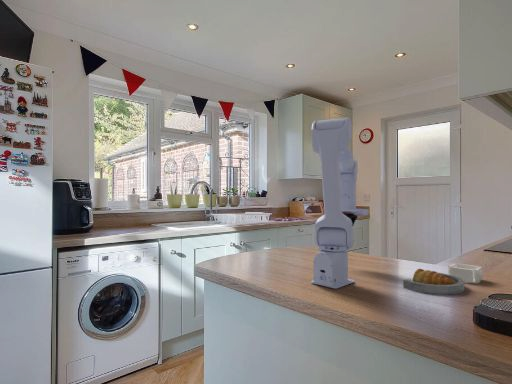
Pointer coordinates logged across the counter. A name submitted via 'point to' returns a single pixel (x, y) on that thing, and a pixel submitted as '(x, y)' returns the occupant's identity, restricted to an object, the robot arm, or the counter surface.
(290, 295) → the counter surface
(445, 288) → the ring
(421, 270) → the pastry
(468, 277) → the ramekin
